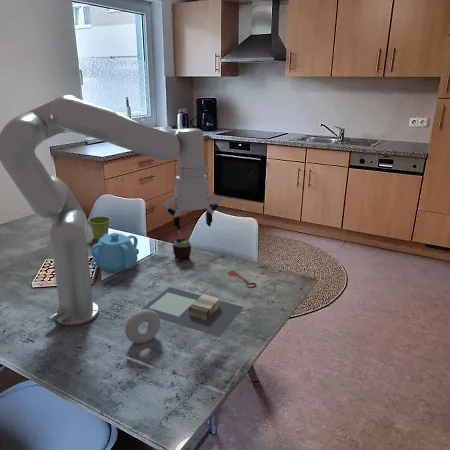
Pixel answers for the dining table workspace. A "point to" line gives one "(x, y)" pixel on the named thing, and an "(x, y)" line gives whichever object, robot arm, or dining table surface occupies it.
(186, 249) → the mate gourd
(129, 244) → the decorative pot
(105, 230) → the plant pot
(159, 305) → the mat
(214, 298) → the wooden block
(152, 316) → the donut
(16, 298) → the dining table surface
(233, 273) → the key
